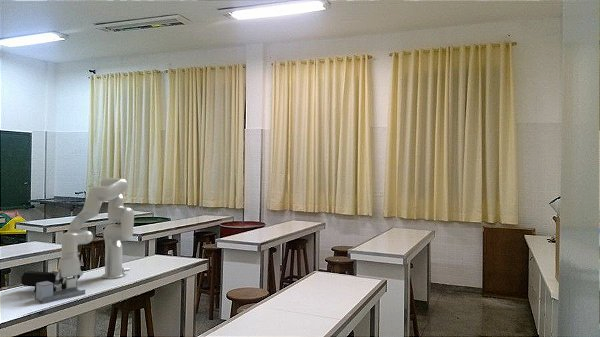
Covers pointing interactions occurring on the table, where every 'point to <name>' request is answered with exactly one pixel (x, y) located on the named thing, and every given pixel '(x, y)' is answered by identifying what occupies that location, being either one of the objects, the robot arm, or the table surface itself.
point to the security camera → (37, 278)
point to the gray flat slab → (62, 294)
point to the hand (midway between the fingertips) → (69, 289)
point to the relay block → (55, 276)
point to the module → (70, 282)
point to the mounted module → (44, 290)
